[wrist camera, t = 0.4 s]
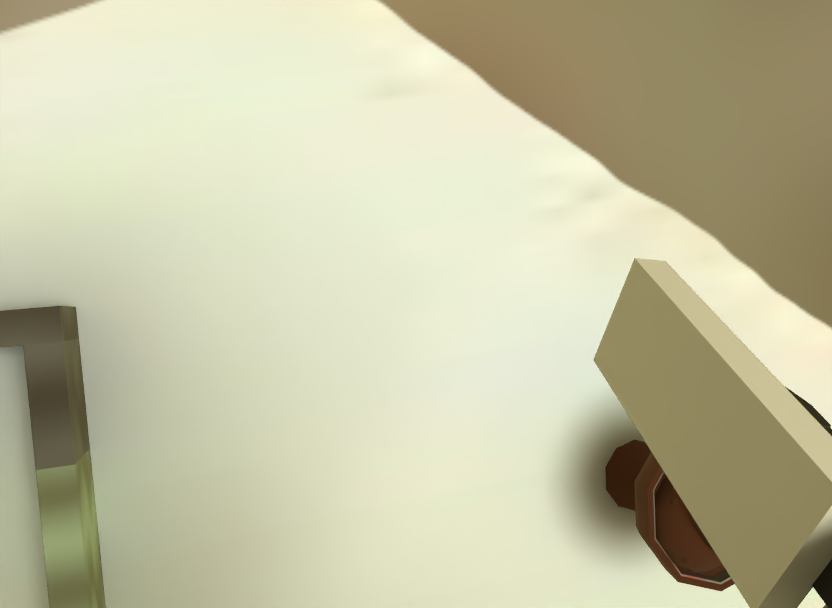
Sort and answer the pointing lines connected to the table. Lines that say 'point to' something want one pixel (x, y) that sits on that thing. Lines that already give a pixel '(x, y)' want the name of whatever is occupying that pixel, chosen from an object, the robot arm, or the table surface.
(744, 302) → the table surface
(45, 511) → the shallow tray
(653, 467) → the ice cream bowl
